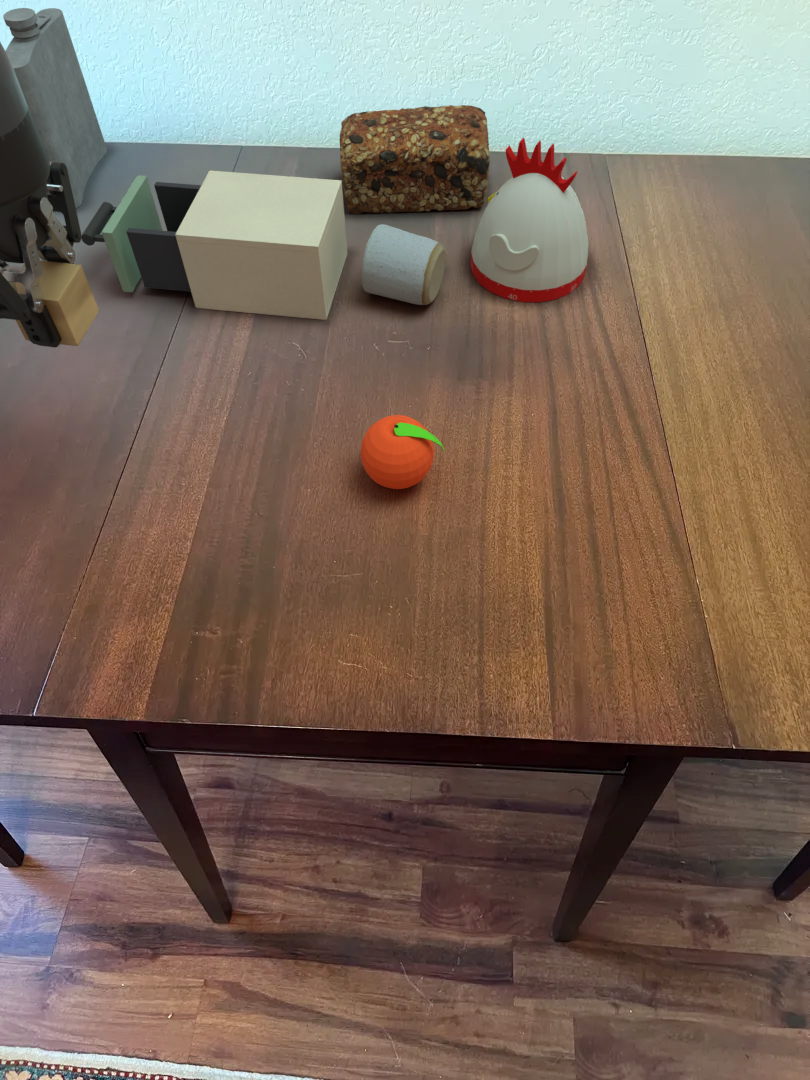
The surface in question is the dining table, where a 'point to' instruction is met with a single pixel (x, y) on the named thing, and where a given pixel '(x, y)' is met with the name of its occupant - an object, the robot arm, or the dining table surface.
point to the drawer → (145, 234)
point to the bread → (415, 159)
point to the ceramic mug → (403, 265)
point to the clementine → (397, 451)
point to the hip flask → (56, 92)
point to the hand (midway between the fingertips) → (61, 322)
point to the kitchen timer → (531, 232)
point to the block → (65, 300)
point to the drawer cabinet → (264, 244)
